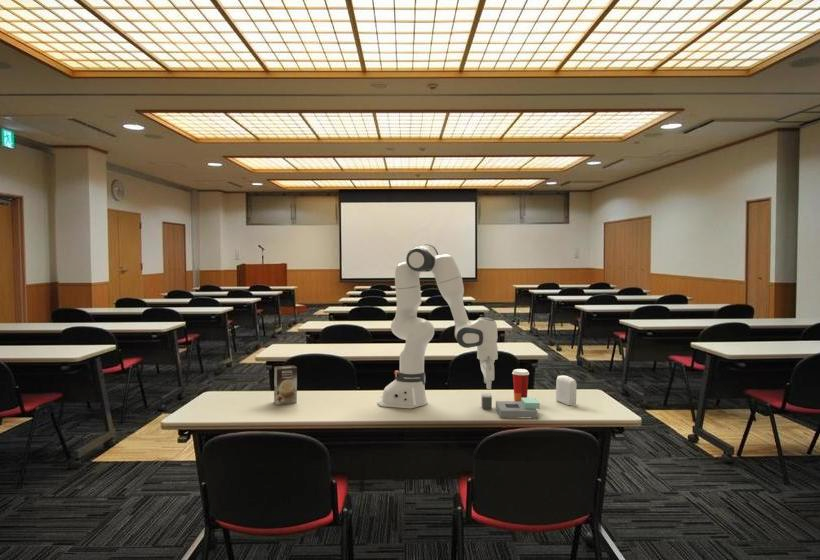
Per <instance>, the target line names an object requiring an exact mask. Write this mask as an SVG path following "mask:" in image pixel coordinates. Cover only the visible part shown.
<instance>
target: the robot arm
mask: <svg viewBox="0 0 820 560" xmlns="http://www.w3.org/2000/svg"><path fill="white" fill-rule="evenodd" d="M405 260H406V261H402V262H400V263H398V264H397V265H396V266H395V272H394V286H395V287H394V288H395V295H396V296H395V297H396V311H395V317H394V318H393V320H392V321H391V324H390V329H391V330H390V331H391V333H392V334H393V335H394V336H396V337H397V338H399V339H401V340H404V341H405V345H404V348H403V350H402V351H401V352H400V353H399V370H394V380H393V381H391V382H390V383H388V384H387V385H386V386H385V387H384V388H383V391H382V395H381V396H380V397H379V398H378V399H377V405H378V406H379V407H382V408H384V407H385V408H399V409H401V408H402V409H414V408H415V409H416V408H417V407H423V406H425V405H427V404H428V400H427V394H426V389H425V386H426V385H425V384H426V372H425V355H426V350H427V346H428V344H429V342H430V341H431V340H432V339H433V337H434V335H435V327H434V325H433V324H432V323H431V321H429V320H427V319H425V318H421V317H418V309H419V307H420V306H421V304H422V292H421V283H420V274H421V273H422V272H426V273H429V272H431V273H432V274H433V276H434V279H435V282H436V286H437V288H438V291H439V292H440V294H441V297H442V298H443V299H444V300H445V301H446V303H447V304H448V306H449V308H450V312H451V315H452V317H453V321H454V331H453V332H454V338H455V339H456V341H457V343H458V345H459V346H460V347H462V348H465V349H469V348H475V347H476V350H477V351H476V355H477V356H476V359H478V360H479V364H480V371H481V372H482V375H483V383H484V384H486V389H487V390H491V389H492V383H493V382H494V381H495V364H494V363H495V360H498V359H499V357H498V355H499V353H498V349H499V348H498V337H499V336H498V326H497V325H498V324H497V322H496V320H494V319H493V318H490V317H485V316H483V317H478V318H477V319H475V320H474V321H473V322H471V321H470V319H469V318H468V314H467V311H466V308H465V305H464V293H465V288H464V287H465V286H464V282H463V278H462V277H463V276H462V275H461V272H460V269H459V267H458V264H457V262H456V261H455V258H454V257H453V256H452V255H450V254H448V253H447V254H446V253H445V254H440V255H439V253H438V250H437V248H436V247H435V246H433V245H430V244H426V243H425V244H419V245H417V246H414V247H413V248H411V249H410V250H408V252H407V255H406V259H405ZM492 381H493V382H492Z"/></svg>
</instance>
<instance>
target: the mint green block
mask: <svg viewBox="0 0 820 560" xmlns="http://www.w3.org/2000/svg"><path fill="white" fill-rule="evenodd" d="M521 404H522V405H523V407H524V408H525V409H536V410H540V402H539V401H538V399H537V397H527V398H521Z"/></svg>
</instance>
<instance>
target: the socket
mask: <svg viewBox="0 0 820 560" xmlns="http://www.w3.org/2000/svg"><path fill="white" fill-rule="evenodd" d="M496 409H497V410H496ZM495 410H496V412H497V411H498V412H497V414H498V416H499V418H500V417H508V418H507V419H518V418H517V417H531V418H530V419H538V409H525V408H524V407H523V405H522V404H521V401H515V400H514V401H512V400H511V401H509V400H495ZM509 417H511V418H509Z"/></svg>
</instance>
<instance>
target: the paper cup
mask: <svg viewBox="0 0 820 560" xmlns="http://www.w3.org/2000/svg"><path fill="white" fill-rule="evenodd" d="M511 374H512V379H513V380H512V382H513V399H514V401H521V398H528V391H529V390H528V388H529V375H530V372H529V370H527V369H525V368H516V369H513V370H512V373H511Z"/></svg>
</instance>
